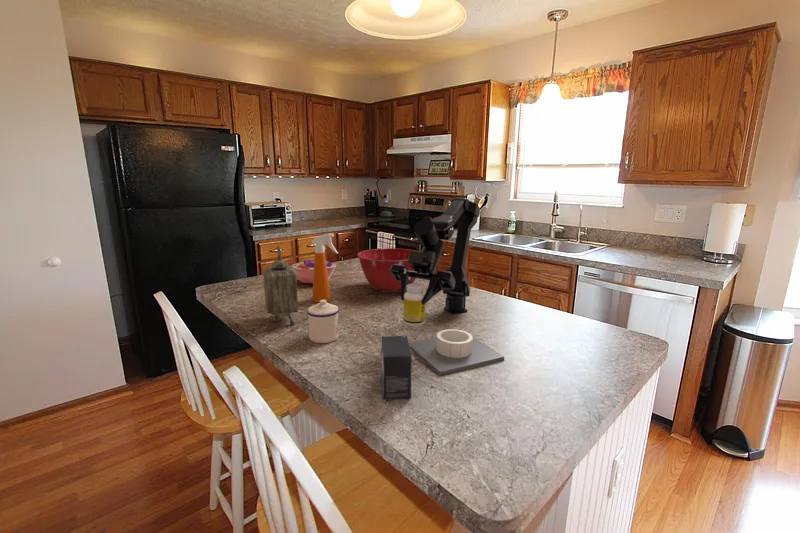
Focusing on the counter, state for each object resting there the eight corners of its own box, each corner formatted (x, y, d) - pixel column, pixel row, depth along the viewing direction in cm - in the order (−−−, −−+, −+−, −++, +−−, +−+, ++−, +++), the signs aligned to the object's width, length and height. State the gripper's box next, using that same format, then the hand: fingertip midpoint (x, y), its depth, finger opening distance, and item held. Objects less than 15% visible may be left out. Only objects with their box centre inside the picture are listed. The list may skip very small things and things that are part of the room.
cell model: (294, 278, 180) (293, 254, 177) (337, 277, 182) (337, 254, 180) (288, 288, 164) (287, 262, 161) (335, 287, 166) (335, 262, 163)
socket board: (464, 335, 117) (465, 319, 116) (504, 359, 102) (505, 342, 100) (406, 346, 109) (407, 330, 108) (439, 375, 93) (440, 356, 92)
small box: (380, 375, 93) (380, 335, 90) (407, 374, 93) (407, 334, 91) (382, 400, 83) (382, 355, 80) (412, 399, 83) (413, 354, 81)
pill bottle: (425, 327, 105) (426, 289, 103) (402, 326, 106) (403, 288, 103) (424, 319, 112) (425, 282, 109) (403, 318, 112) (404, 282, 109)
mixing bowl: (350, 283, 173) (349, 249, 169) (407, 277, 184) (408, 245, 180) (370, 301, 147) (370, 262, 144) (435, 294, 158) (436, 257, 155)
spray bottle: (336, 304, 144) (334, 234, 138) (309, 302, 146) (306, 233, 140) (342, 298, 151) (340, 232, 145) (316, 296, 153) (313, 231, 147)
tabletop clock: (299, 326, 122) (295, 249, 117) (269, 330, 119) (264, 251, 113) (293, 311, 135) (289, 242, 130) (266, 314, 132) (261, 243, 126)
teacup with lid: (344, 339, 113) (343, 302, 110) (314, 346, 108) (313, 307, 105) (328, 326, 123) (327, 291, 120) (301, 332, 118) (299, 296, 115)
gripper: (393, 236, 111) (372, 282, 104) (453, 242, 102) (435, 293, 95) (405, 258, 119) (387, 301, 113) (462, 265, 111) (446, 313, 104)
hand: (412, 302), depth 106 cm, fingers closed on pill bottle, 6 cm apart
